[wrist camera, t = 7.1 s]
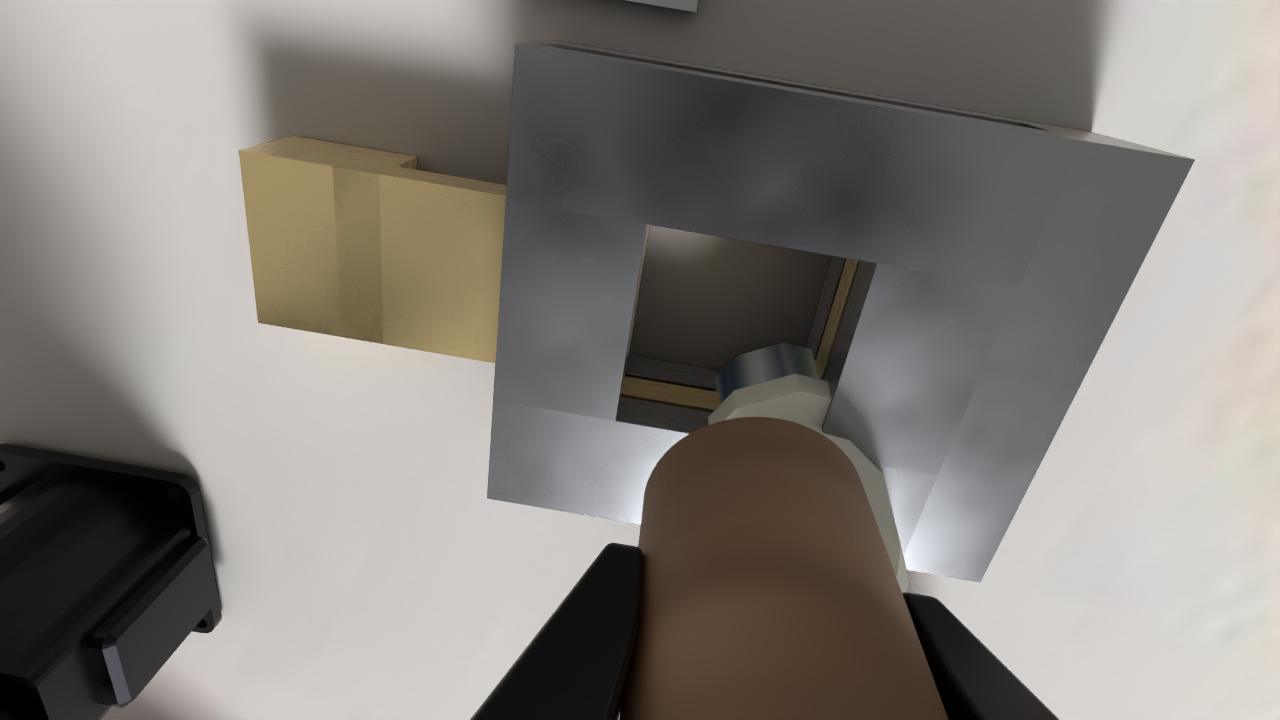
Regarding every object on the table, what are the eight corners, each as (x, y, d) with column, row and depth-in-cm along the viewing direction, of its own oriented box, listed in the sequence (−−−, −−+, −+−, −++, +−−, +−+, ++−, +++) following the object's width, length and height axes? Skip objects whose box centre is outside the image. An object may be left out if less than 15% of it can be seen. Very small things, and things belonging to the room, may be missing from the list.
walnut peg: (629, 573, 10) (549, 1214, 5) (662, 398, 9) (608, 1013, 3) (830, 607, 10) (987, 1288, 5) (894, 437, 9) (1226, 1118, 3)
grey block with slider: (312, 388, 19) (240, 456, 16) (282, -6, 15) (175, -14, 12) (935, 494, 19) (980, 582, 16) (1093, 132, 15) (1194, 159, 12)
